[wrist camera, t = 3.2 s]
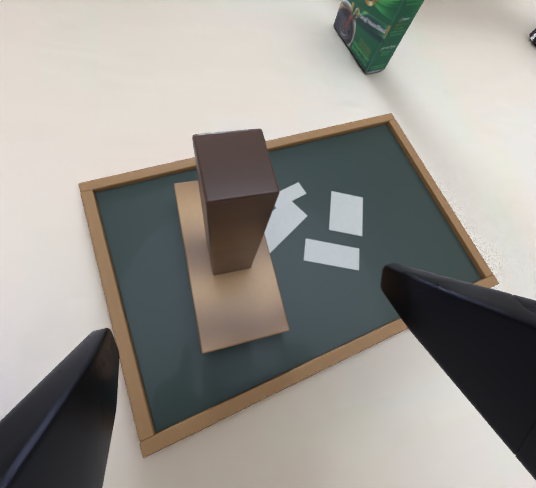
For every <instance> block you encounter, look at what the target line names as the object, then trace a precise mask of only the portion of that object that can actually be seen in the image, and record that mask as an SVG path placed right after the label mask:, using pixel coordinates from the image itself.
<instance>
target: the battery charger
mask: <svg viewBox="0 0 536 488" xmlns="http://www.w3.org/2000/svg"><path fill="white" fill-rule="evenodd" d="M530 37H531V38H530V39H531V41H533V42H534V43H535V44H536V29H535V30H534V31H532V32H531V34H530Z"/></svg>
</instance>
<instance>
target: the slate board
mask: <svg viewBox="0 0 536 488" xmlns="http://www.w3.org/2000/svg"><path fill="white" fill-rule="evenodd" d="M265 142H266V146H267V149H268V153H269V156H270V160H271V163H272V166H273V170H274V173H275V177H276V180H277V183H278V187H279V190H280V193H279V196H278V198H277V201H276V204H275V206H274V209H273V211H272V214H271V217H270V219H269V222H268V225H267V227H266V230H265V232H264V233H265V237H266V241H267V245H268V249H269V252H270V256H271V260H272V264H273V268H274V272H275V275H276V279H277V283H278V287H279V291H280V295H281V298H282V302H283V306H284V310H285V314H286V318H287V321H288V325H289V331H288V332H284V333H280V334H276V335H272V336H269V337H265V338H261V339H257V340H253V341H250V342H246V343H242V344H238V345H234V346H231V347H227V348H223V349H219V350H215V351H212V352H208V353H202V351H201V345H200V339H199V333H198V327H197V321H196V315H195V309H194V303H193V297H192V291H191V285H190V279H189V273H188V267H187V261H186V255H185V249H184V243H183V237H182V231H181V225H180V219H179V213H178V207H177V201H176V195H175V189H174V184H175V183H182V182H190V181H198V176H197V169H196V161H195V157H194V158H189V159H185V160H181V161H176V162H172V163H167V164H163V165H158V166H154V167H149V168H145V169H140V170H136V171H132V172H127V173H123V174H118V175H114V176H109V177H105V178H100V179H96V180H91V181H87V182H83V183H79V189H80V192H81V198H82V202H83V206H84V210H85V214H86V219H87V223H88V227H89V231H90V235H91V240H92V244H93V248H94V252H95V257H96V261H97V265H98V269H99V273H100V278H101V282H102V286H103V290H104V295H105V299H106V303H107V307H108V311H109V316H110V320H111V324H112V328H113V333H114V337H115V341H116V344H117V347H118V350H119V358H120V362H121V366H122V370H123V375H124V379H125V383H126V387H127V392H128V396H129V400H130V404H131V408H132V413H133V417H134V421H135V425H136V430H137V434H138V438H139V441H140V447H141V451H142V455H143V458H145V457H147V456H149V455H151V454H153V453H155V452H157V451H159V450H161V449H163V448H165V447H167V446H169V445H171V444H173V443H175V442H177V441H179V440H181V439H183V438H185V437H187V436H189V435H191V434H194V433H196V432H198V431H200V430H202V429H204V428H206V427H208V426H210V425H212V424H214V423H216V422H218V421H220V420H222V419H224V418H226V417H228V416H230V415H232V414H234V413H236V412H238V411H240V410H242V409H244V408H247V407H249V406H251V405H253V404H255V403H257V402H259V401H261V400H263V399H265V398H267V397H269V396H271V395H273V394H275V393H277V392H279V391H281V390H283V389H285V388H287V387H289V386H291V385H293V384H295V383H297V382H299V381H302V380H304V379H306V378H308V377H310V376H312V375H314V374H316V373H318V372H320V371H322V370H324V369H326V368H328V367H330V366H332V365H334V364H336V363H338V362H340V361H342V360H344V359H346V358H348V357H350V356H352V355H355V354H357V353H359V352H361V351H363V350H365V349H367V348H369V347H371V346H373V345H375V344H377V343H379V342H381V341H383V340H385V339H387V338H389V337H391V336H393V335H395V334H397V333H399V332H401V331H403V330H405V329H408V327H407V326H406V325H405V323H404V322H403V321H402V319H401V318H400V316H399V315H398V313H397V312H396V311H395V309H394V308H393V306H392V305H391V303H390V302H389V300H388V299H387V297H386V296H385V295H384V293H383V292H382V290H381V286H380V283H381V276H382V270H383V267H384V266H385V265H387V264H392V263H398V264H401V265H405V266H409V267H412V268H416V269H420V270H424V271H427V272H431V273H435V274H438V275H442V276H446V277H450V278H453V279H457V280H461V281H464V282H468V283H472V284H476V285H479V286H483V287H487V288H491V287H493V286H495V285H497V284H499V282H498V281H497V279H496V278H495V276H494V275H493V273H492V272H491V270H490V269H489V267H488V265H487V264H486V262H485V261H484V259H483V257H482V256H481V254H480V253H479V251H478V250H477V248H476V246H475V245H474V243H473V242H472V240H471V238H470V237H469V235H468V234H467V232H466V231H465V229H464V227H463V226H462V224H461V223H460V221H459V219H458V218H457V216H456V215H455V213H454V212H453V210H452V208H451V207H450V205H449V204H448V202H447V200H446V199H445V197H444V196H443V194H442V193H441V191H440V189H439V188H438V186H437V185H436V183H435V181H434V180H433V178H432V177H431V175H430V174H429V172H428V170H427V169H426V167H425V166H424V164H423V162H422V161H421V159H420V158H419V156H418V155H417V153H416V151H415V150H414V148H413V147H412V145H411V143H410V142H409V140H408V139H407V137H406V136H405V134H404V132H403V131H402V129H401V128H400V126H399V124H398V123H397V121H396V120H395V118H394V117H393V115H392V114H391V113H390V114H385V115H381V116H377V117H372V118H368V119H363V120H359V121H354V122H350V123H345V124H341V125H336V126H332V127H328V128H323V129H319V130H314V131H310V132H305V133H301V134H296V135H292V136H287V137H283V138H279V139H274V140H270V141H265Z"/></svg>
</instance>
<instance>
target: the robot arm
mask: <svg viewBox="0 0 536 488" xmlns="http://www.w3.org/2000/svg"><path fill="white" fill-rule="evenodd" d="M380 286H381V290H382V292H383V293H384V295H385V296H386V297H387V299H388V300H389V302H390V303H391V305H392V306H393V308H394V309H395V311H396V312H397V313H398V315H399V316H400V318H401V319H402V321H403V322H404V323H405V325H406V326H407V327H408V329H409V330H410V331H411V332H412V333H413V335H414V336H415V337H416V338H417V339H418V341H419V342H420V343H421V344H422V345H423V346H424V348H425V349H426V350H427V351H428V352H429V354H430V355H431V356H432V357H433V358H434V360H435V361H436V362H437V363H438V364H439V366H440V367H441V368H442V369H443V370H444V371H445V373H446V374H447V375H448V376H449V377H450V379H451V380H452V381H453V382H454V383H455V385H456V386H457V387H458V388H459V389H460V390H461V392H462V393H463V394H464V395H465V396H466V398H467V399H468V400H469V401H470V402H471V404H472V405H473V406H474V407H475V408H476V410H477V411H478V412H479V413H480V414H481V415H482V417H483V418H484V419H485V420H486V421H487V423H488V424H489V425H490V426H491V427H492V429H493V430H494V431H495V432H496V433H497V435H498V436H499V437H500V438H501V439H502V440H503V442H504V443H505V444H506V445H507V446H508V448H509V449H510V450H511V451H512V452H513V454H515V455H516V457H517V459H518V460H519V461H520V462H521V463H522V465H523V466H524V467H525V468H526V469H527V471H528V472H529V473H530V474H531V475H532V476H533V478H534V479H535V480H536V301H535V300H531V299H528V298H524V297H520V296H517V295H512V294H509V293H505V292H502V291H498V290H494V289H490V288H487V287H483V286H479V285H476V284H472V283H468V282H464V281H461V280H457V279H453V278H450V277H446V276H442V275H438V274H435V273H431V272H427V271H424V270H420V269H416V268H412V267H409V266H405V265H401V264H398V263H392V264H387V265H385V266H384V267H383V270H382V276H381V283H380ZM118 372H119V350H118V347H117V344H116V342H115V339H114V337H113V334H112V332H111V330H110V329H108V328H105V329H101V330H96V331H93V332H92V333H90V334H89V335H88V336H87V337H86V338H85V339H84V340H83V341H82V342H81V343H80V344H79V345H78V346H77V347H76V348H75V349H74V350H73V351H72V352H71V353H70V354H69V355H68V356H67V357H66V358H65V359H64V360H63V361H62V362H61V363H60V364H58V365H57V366H56V367H55V368H54V369H53V370H52V371H51V372H50V373H49V374H48V375H47V376H46V377H45V378H44V379H43V380H42V381H41V382H40V383H39V384H38V385H37V386H36V387H35V388H34V389H33V390H32V391H31V392H30V393H29V394H28V395H27V396H26V397H25V398H24V399H23V400H21V401H20V402H19V403H18V404H17V405H16V406H15V407H14V408H13V409H12V410H11V411H10V412H9V413H8V414H7V415H6V416H5V417H4V418H3V419H2V420H1V421H0V488H102V486H103V481H104V475H105V469H106V464H107V458H108V453H109V447H110V442H111V436H112V430H113V425H114V419H115V413H116V404H117V389H118Z"/></svg>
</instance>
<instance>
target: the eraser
mask: <svg viewBox="0 0 536 488" xmlns="http://www.w3.org/2000/svg"><path fill="white" fill-rule="evenodd" d="M192 139H193V147H194V154H195V161H196V169H197V176H198V181H190V182H182V183H175V184H174V189H175V195H176V201H177V207H178V213H179V219H180V225H181V231H182V237H183V243H184V249H185V255H186V261H187V267H188V273H189V279H190V285H191V291H192V297H193V303H194V309H195V315H196V321H197V327H198V333H199V339H200V345H201V351H202V353H208V352H212V351H215V350H219V349H223V348H227V347H231V346H234V345H238V344H242V343H246V342H250V341H253V340H257V339H261V338H265V337H269V336H272V335H276V334H280V333H284V332H288V331H289V325H288V321H287V318H286V314H285V310H284V306H283V302H282V298H281V295H280V291H279V287H278V283H277V279H276V275H275V272H274V268H273V264H272V260H271V256H270V252H269V249H268V245H267V241H266V237H265V233H264V232H265V230H266V227H267V225H268V222H269V219H270V217H271V214H272V211H273V209H274V206H275V204H276V201H277V198H278V196H279V193H280V190H279V187H278V183H277V180H276V177H275V173H274V170H273V166H272V163H271V160H270V156H269V153H268V149H267V146H266V142H265V139H264V136H263V132H262V130H261V129H249V130H238V131H227V132H216V133H205V134H195V135H193V137H192Z"/></svg>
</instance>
